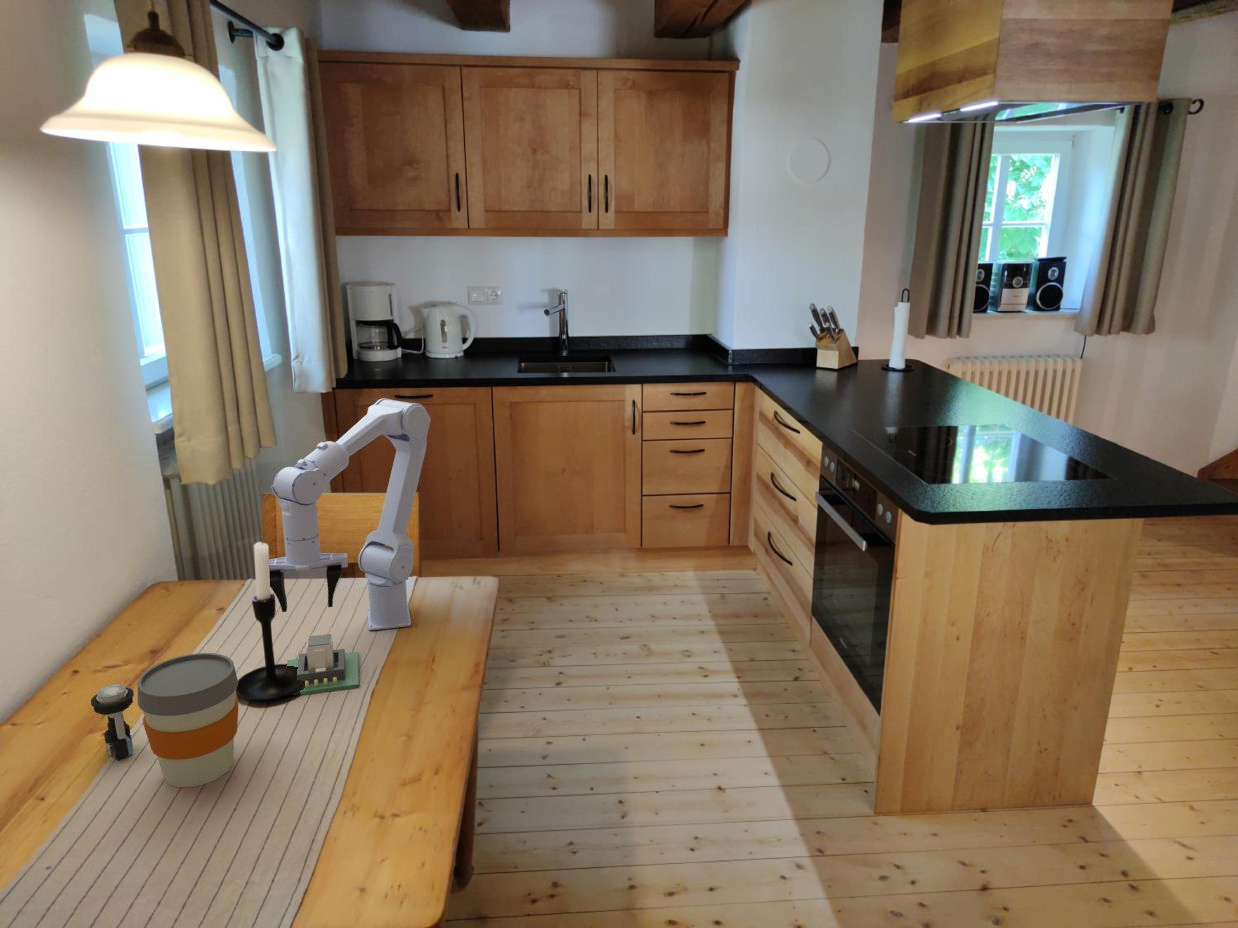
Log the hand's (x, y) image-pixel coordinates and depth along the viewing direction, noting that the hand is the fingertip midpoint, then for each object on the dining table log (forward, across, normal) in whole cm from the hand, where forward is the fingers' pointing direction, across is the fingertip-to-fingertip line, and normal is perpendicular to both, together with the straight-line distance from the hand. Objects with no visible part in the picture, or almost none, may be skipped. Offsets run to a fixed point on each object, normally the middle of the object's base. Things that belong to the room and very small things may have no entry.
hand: (307, 607), depth 149 cm
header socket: (+10, +2, -7) cm, 12 cm away
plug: (+9, +2, -7) cm, 12 cm away
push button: (+10, -26, -22) cm, 36 cm away
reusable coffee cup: (+10, -14, -30) cm, 35 cm away
